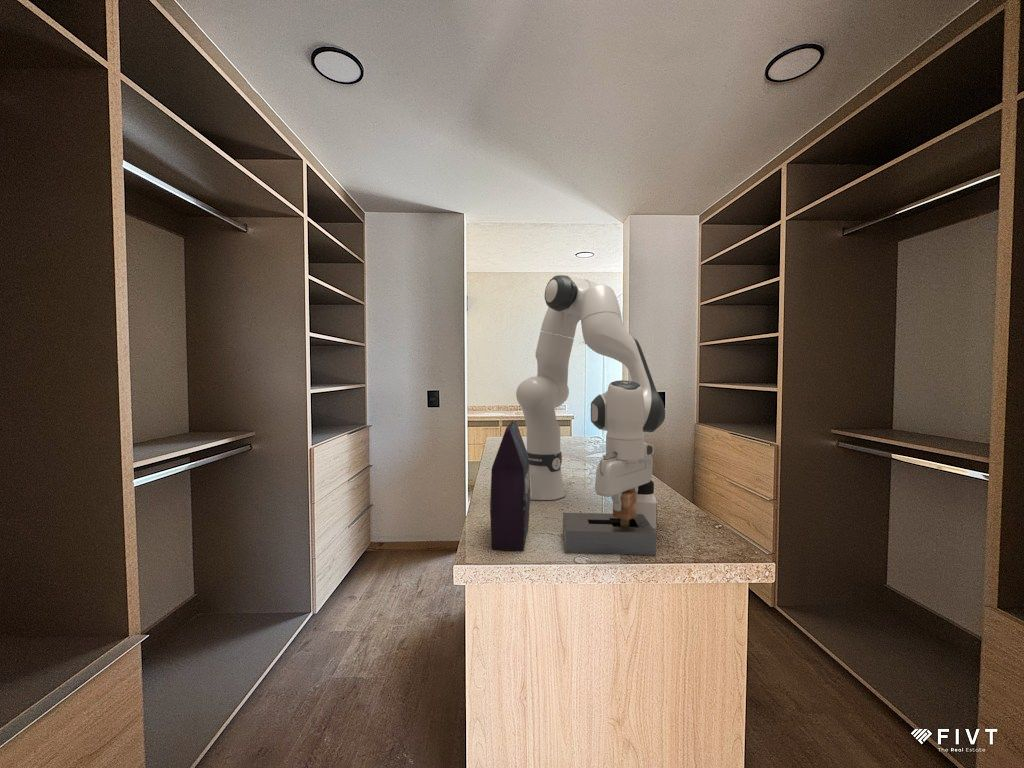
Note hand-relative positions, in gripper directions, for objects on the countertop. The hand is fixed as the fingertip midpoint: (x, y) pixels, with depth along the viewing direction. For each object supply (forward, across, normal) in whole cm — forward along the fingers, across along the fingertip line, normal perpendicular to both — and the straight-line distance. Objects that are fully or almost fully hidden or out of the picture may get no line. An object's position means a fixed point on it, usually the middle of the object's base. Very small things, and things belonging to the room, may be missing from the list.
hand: (624, 507), depth 107 cm
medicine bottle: (+9, +15, +4) cm, 18 cm away
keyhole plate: (+8, -3, +3) cm, 10 cm away
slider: (+8, 0, 0) cm, 8 cm away
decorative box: (+9, -16, +21) cm, 28 cm away
